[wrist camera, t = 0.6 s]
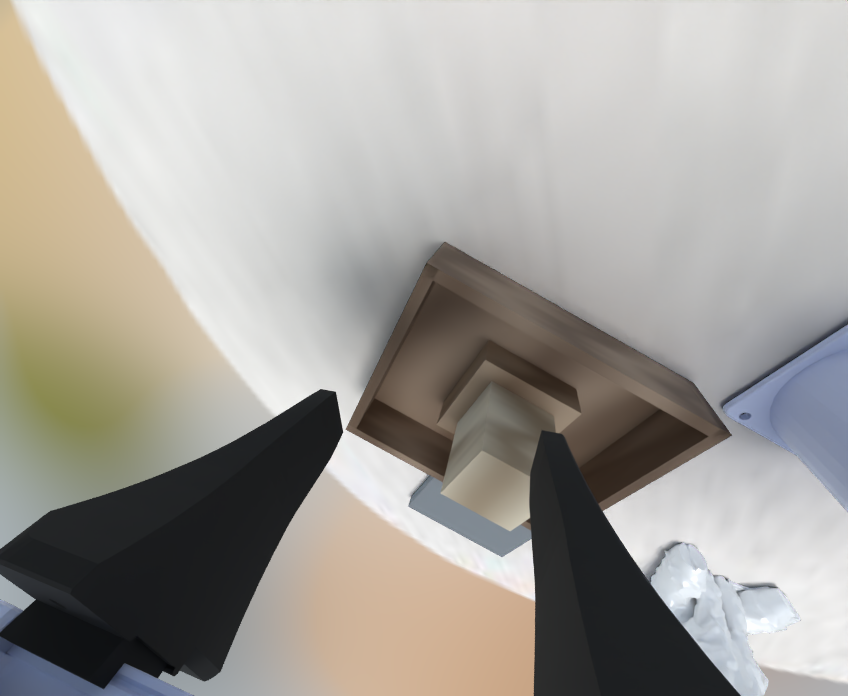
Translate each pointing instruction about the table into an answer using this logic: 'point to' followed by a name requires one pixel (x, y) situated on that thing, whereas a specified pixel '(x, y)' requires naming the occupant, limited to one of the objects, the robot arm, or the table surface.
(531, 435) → the metal block
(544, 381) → the walnut crate
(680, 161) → the table surface
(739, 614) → the white creature statuette
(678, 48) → the table surface
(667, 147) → the table surface
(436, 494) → the slate mat
